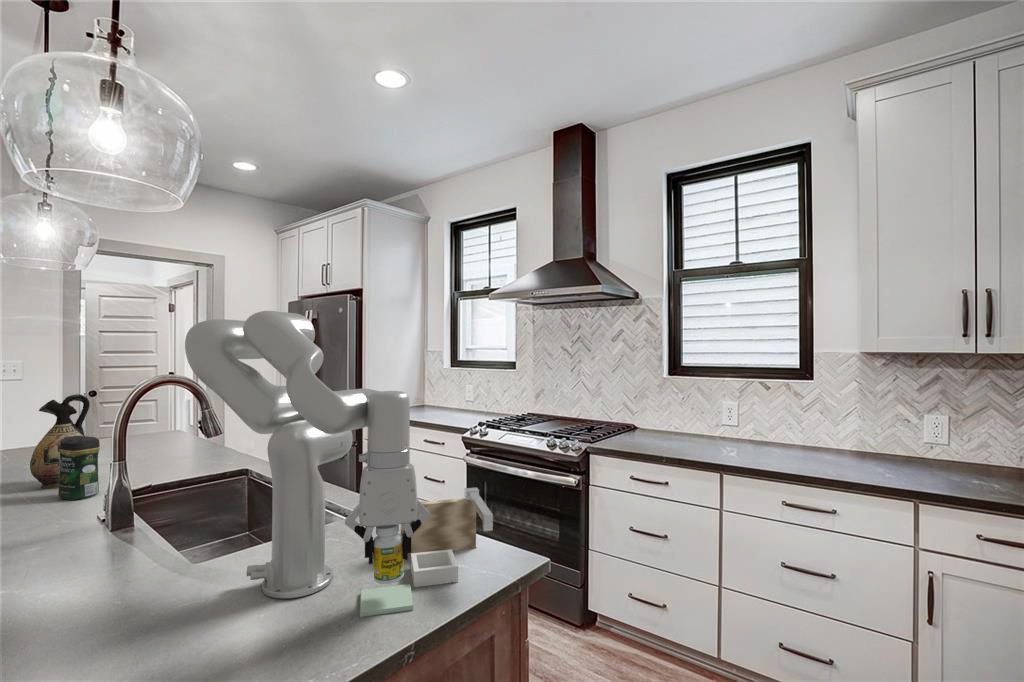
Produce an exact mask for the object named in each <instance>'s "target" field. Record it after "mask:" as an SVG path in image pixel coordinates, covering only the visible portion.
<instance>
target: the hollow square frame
mask: <svg viewBox="0 0 1024 682" xmlns="http://www.w3.org/2000/svg"><path fill="white" fill-rule="evenodd" d="M410 571H411V578H412V582H413V583H412V584H413V588H419V587H425V586H426V587H428V586H434V585H435V586H436V585H442V584H443V585H444V583H445V584H451V582H453V583H459V565H458V563H457V559H456V557H455V554H454V552H453V550H452V549H450V550H440V551H430V552H421V553H411V555H410Z"/></svg>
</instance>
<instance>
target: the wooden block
mask: <svg viewBox="0 0 1024 682" xmlns="http://www.w3.org/2000/svg"><path fill="white" fill-rule="evenodd" d="M420 503H421V504H422V505H423V506H424V507H425V508H426V509H427V510H428V511H429V513H430V517H429V518H428V519H427V520H426V521H425V522H424V523H422V524H421V526H420V527H419V528H418V529H417V530H416V531H415V532H414V534H413V536H412V537H411V553H421V552H430V551H440V550H450V549H452V551H458V550H469V549H476V548H477V511H476V510H475V508H474V506H473V505H472V503H471V502H470V500H466V499H465V497H464V498H453V499H442V500H441V499H439V500H426V501H420ZM419 515H420V513H419V512H418V511H417V517H418V516H419ZM411 523H412V522H411ZM404 530H405V529H404V527H403V524H400V534H401V536H402V537H403V534H404ZM411 553H408V556H411Z"/></svg>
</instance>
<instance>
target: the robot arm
mask: <svg viewBox="0 0 1024 682" xmlns="http://www.w3.org/2000/svg"><path fill="white" fill-rule="evenodd" d="M315 331H316V330H315V328H314V324H313V323H312V322H311V320H309V318H307V317H306V316H304V315H303V314H301V313H295V312H287V311H286V312H285V311H276V310H275V311H274V310H261V311H258V312H255V313H253V314H252V315H250V316H249V317H247V318H246V320H237V319H222V318H221V319H220V318H219V319H218V318H217V319H207V320H202V321H200V322H198V323H196V324H193V326H191V327H190V329H188V332H187V333H186V335H185V340H184V350H185V351H184V352H185V356H186V359H187V363H188V365H189V367H190V368H191V370H192V372H193V373H194V375H195V376H196V377H197V378H198V379H199V380H200V382H202V383H203V385H205V386H206V387H208V388H209V389H210V390H211V391H213V392H214V393H215V394H216V395H217V396H218V397H219V398H221V400H222V401H224V403H225V404H226V405H227V406H228V408H230V409H231V410H232V411H233V412H234V413H235V414H236V416H237V417H238V418H240V420H241V421H242V422H243V423H244V424H246V426H247V427H249V429H251V431H253V432H255V433H256V434H259V435H271V436H270V438H269V440H268V442H267V457H268V463H269V468H270V473H271V483H272V487H271V488H272V505H271V506H272V513H271V514H272V515H271V516H272V519H271V520H272V522H271V524H272V525H271V526H272V527H271V560H270V561H267V562H265V563H264V564H251V565H248V566H247V568H246V577H250V581H256V580H262V579H263V581H262V582H261V583H262V584H261V590H262V593H263V594H265V595H266V596H268V597H270V598H273V599H283V600H284V599H296V598H300V597H305V596H308V595H312V594H314V593H317V592H319V591H322V590H323V589H324V588H326V587H327V586H329V584H330V583H331V582H332V581H333V570H332V568H330V567H329V566H328V565H326V564H325V556H326V555H325V550H326V549H325V547H326V546H325V545H326V539H325V538H326V485H325V482H324V480H323V477H322V476H321V473H320V471H319V466H320V465H323V464H327V463H329V462H330V463H331V462H333V461H337V460H339V459H340V458H343V457H344V456H345V455H347V453H348V452H350V449H351V448H352V444H353V441H354V440H353V439H354V436H353V432H352V431H354V430H355V431H356V430H359V429H360V430H361V429H364V428H366V429H367V435H366V436H367V447H366V448H367V451H365V453H361V454H360V453H359V454H358V462H360V463H365V464H366V466H364V467H363V469H362V472H361V477H360V485H359V497H358V498H359V500H358V501H359V502H358V504H357V505H356V506H355V508H354V509H352V511H351V512H350V513H349V514H348V516H347V517H346V518H345V521H344V525H345V526H347V527H348V528H349V529H350V530H353V531H354V533H355V534H356V535H358V537H360V538H361V539H362V540H363V542H364V559H368V565H372V564H374V563H373V540H374V536H373V532H374V529H375V528H376V527H378V526H388V525H401V524H403V527H404V529H405V530H404V534H403V559H404V561H407V560H408V558H409V557H408V556H409V555H408V553H411V537H412V536H413V534H414V532H415V531H416V530H417V529H418V528H419V527H420V526H421V524H422V523H424V522H425V521H426V520H427V519H428V518H429V517H430V513H429V511H428V510H427V509H426V508H425V507H424V506H423V505H422V504H421V503H420V502H421V501H420V500H419V499H418V490H417V477H416V476H417V475H416V472H415V471H416V470H415V466H414V465H413V464H412V463H411V462H410V454H411V453H410V452H411V451H410V431H411V429H410V428H411V427H410V425H411V423H410V421H411V420H410V417H411V416H410V414H411V413H410V412H411V411H410V409H411V408H410V406H411V401H410V396H409V394H408V393H407V392H405V391H400V390H399V391H398V390H381V391H379V390H375V389H371V388H353V389H342V390H335V391H333V390H332V389H331V388H330V387H328V386H327V385H326V384H325V383H324V382H322V380H321V379H320V378H318V376H317V375H316V373H317V372H318V371H319V370H320V368H321V367H322V365H323V362H324V352H323V350H322V349H321V348H320V347H319V346H318V345H317V344H316V343H314V342H315V339H316V338H315V337H316V332H315ZM260 359H264V360H266V362H268V363H269V364H270V365H271V366H272V367H273V368H274V369H275V370H276V371H277V372H278V373H280V375H282V376H283V377H284V378H285V379H286V380H285V385H277V384H276V385H275V384H273V383H271V382H270V381H269V380H267V379H266V378H265V377H264V376H263V375H262V374H261V373H260V371H258V370H257V369H256V368H254V367H253V366H251V365H249V364H247V363H245V362H243V361H241V360H260ZM417 511H418V512H419V513H420V515H419V516H418V517H417ZM356 519H359V520H358V521H357V520H356ZM411 522H412V523H411Z"/></svg>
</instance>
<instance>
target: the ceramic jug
mask: <svg viewBox="0 0 1024 682" xmlns="http://www.w3.org/2000/svg"><path fill="white" fill-rule="evenodd" d="M73 401H76V402H81V403H82V404H83V405H82V409H81V411H80V413H79V415H78V418H77V419H76V421H75V423H74V422H73V420H72V419H71V416H72V415H76V414H77V413H78V411H77V410H76V408H74V406H72V405H70V403H71V402H73ZM90 405H91V404H90V400H89V399H88V397H87V396H86V395H83V394H81V393H79V394H77V393H76V394H70V395H69V396H66V397H65V399H63V401H62V402H61V403H60V402H58V401H57V400H55V399H51V400H49V401H47V402H45V404H43V405H42V406H41V407H40V408H39V409H38V412H42V413H46V414H51V415H54V417H56V421H55V424H53V426H52V427H51V428H50V429H49V430H48V431H47V432H46V433H45V434H44V435H43V437H42V438H41V440H40V441H39V442H38V443H37V445H36V447H34V450H33V453H32V455H31V458H30V463H29V470H30V473H31V475H32V476H33V477H34V479H36V480H37V481H38V482H39V483H41V485H42V486H41V488H43V489H47V490H48V489H51V490H53V489H59V480H60V463H61V459H60V450H59V449H60V443H61V441H62V440H63V439H64V438H65V437H71V436H86V435H85V431H84V429H83V423H84V422H85V419H86V416H87V414H88V411H89V409H90ZM52 488H53V489H52Z"/></svg>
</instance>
